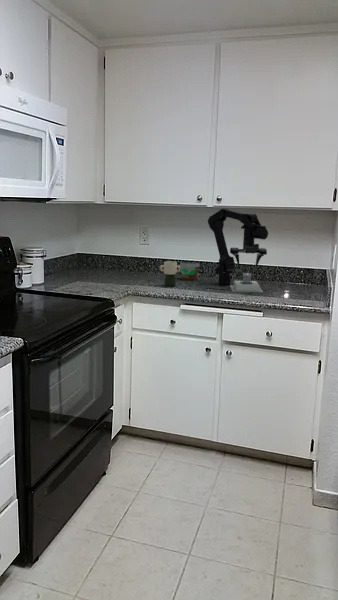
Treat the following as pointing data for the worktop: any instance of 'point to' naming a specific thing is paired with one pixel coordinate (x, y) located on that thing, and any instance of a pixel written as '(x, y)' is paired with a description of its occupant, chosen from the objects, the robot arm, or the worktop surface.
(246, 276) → the spigot
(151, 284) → the worktop surface
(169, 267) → the character mug
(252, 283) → the dock
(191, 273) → the food container
